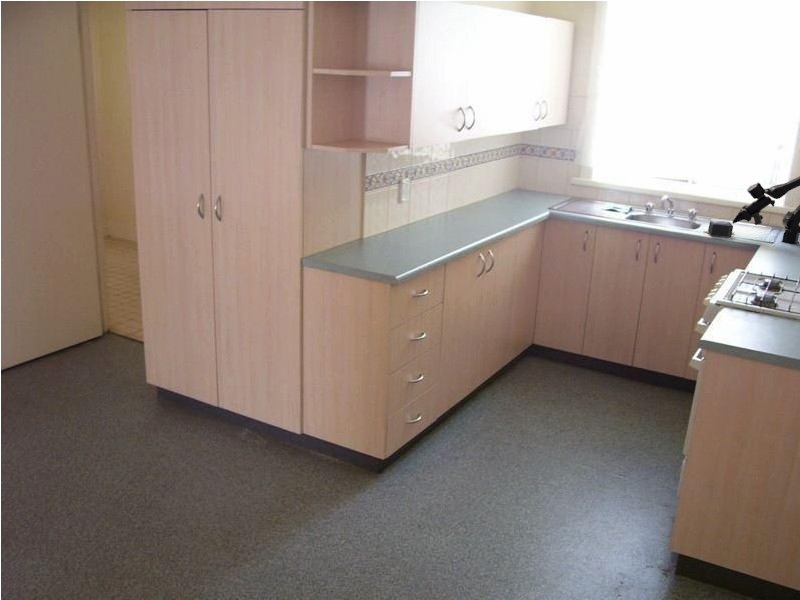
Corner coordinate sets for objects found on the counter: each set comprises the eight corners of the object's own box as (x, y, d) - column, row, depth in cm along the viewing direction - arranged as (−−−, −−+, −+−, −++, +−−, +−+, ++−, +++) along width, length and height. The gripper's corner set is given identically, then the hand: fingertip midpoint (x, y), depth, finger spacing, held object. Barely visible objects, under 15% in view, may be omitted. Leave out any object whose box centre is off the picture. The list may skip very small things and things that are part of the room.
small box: (733, 225, 413) (712, 224, 415) (731, 237, 415) (710, 236, 417) (729, 221, 423) (709, 220, 425) (728, 233, 425) (707, 231, 427)
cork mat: (734, 233, 427) (734, 232, 427) (722, 236, 419) (722, 235, 419) (715, 229, 435) (715, 228, 435) (703, 232, 427) (703, 231, 427)
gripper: (768, 220, 401) (741, 238, 409) (769, 214, 417) (743, 231, 425) (754, 202, 402) (727, 221, 410) (756, 197, 418) (730, 215, 426)
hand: (732, 222), depth 417 cm, fingers closed
